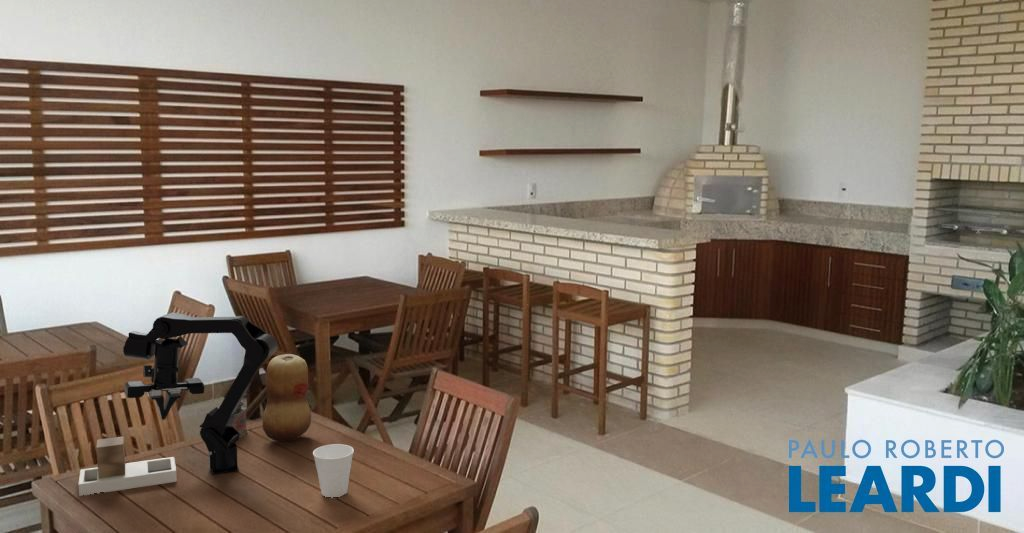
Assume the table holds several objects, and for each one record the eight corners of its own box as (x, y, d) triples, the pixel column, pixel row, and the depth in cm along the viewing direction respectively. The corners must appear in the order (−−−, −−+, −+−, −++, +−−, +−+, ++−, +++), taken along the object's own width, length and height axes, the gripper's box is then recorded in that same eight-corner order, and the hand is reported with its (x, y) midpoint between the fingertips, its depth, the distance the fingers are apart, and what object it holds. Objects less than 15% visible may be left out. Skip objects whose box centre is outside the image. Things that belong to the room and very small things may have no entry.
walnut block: (125, 466, 211) (123, 436, 210) (125, 474, 206) (123, 444, 205) (99, 469, 209) (97, 439, 208) (98, 478, 204) (96, 447, 202)
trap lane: (174, 467, 219) (174, 456, 218) (176, 481, 210) (176, 470, 209) (81, 480, 209) (80, 469, 209) (79, 496, 200) (78, 484, 200)
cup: (319, 505, 197) (318, 461, 195) (309, 489, 206) (308, 447, 204) (359, 497, 201) (359, 454, 200) (348, 482, 210) (347, 441, 208)
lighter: (235, 441, 238) (234, 408, 236) (225, 440, 239) (223, 407, 237) (249, 431, 246) (248, 399, 244) (239, 431, 246) (238, 398, 245)
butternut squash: (286, 452, 230) (283, 365, 226) (253, 442, 237) (250, 358, 233) (322, 437, 242) (320, 354, 238) (289, 428, 249) (287, 348, 245)
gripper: (197, 352, 226) (193, 406, 229) (122, 354, 216) (119, 412, 218) (206, 363, 217) (202, 420, 219) (129, 366, 207) (126, 426, 209)
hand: (163, 419), depth 217 cm, fingers closed
